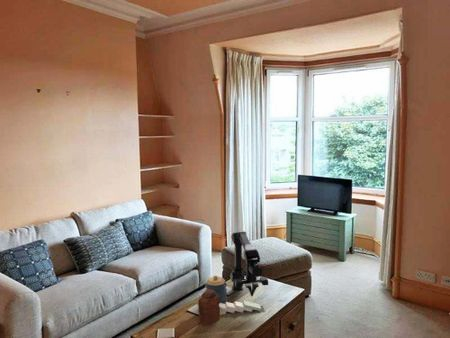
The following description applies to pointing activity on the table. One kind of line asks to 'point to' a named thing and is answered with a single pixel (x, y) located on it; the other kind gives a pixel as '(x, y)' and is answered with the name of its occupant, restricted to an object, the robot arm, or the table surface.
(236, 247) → the robot arm
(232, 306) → the domino
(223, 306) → the domino
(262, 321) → the table surface
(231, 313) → the mat
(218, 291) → the canister
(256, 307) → the domino
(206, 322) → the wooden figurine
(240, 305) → the domino
